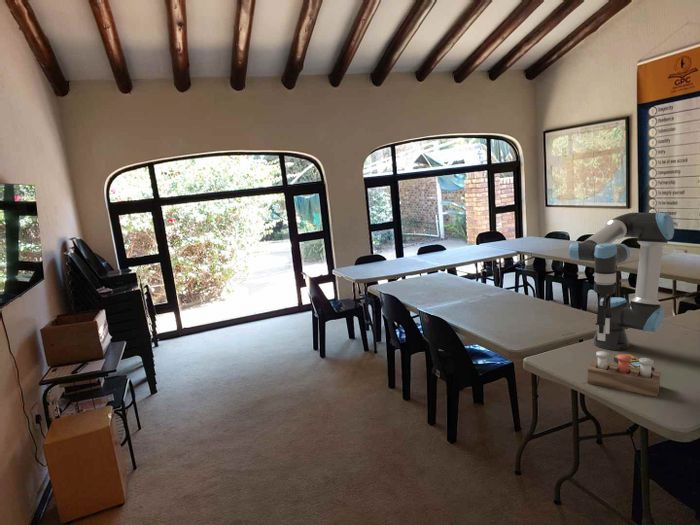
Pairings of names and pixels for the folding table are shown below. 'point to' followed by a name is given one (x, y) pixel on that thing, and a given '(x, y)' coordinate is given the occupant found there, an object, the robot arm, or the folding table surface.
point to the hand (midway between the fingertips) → (603, 336)
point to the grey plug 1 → (602, 359)
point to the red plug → (623, 363)
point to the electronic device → (632, 362)
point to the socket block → (624, 379)
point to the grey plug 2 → (645, 367)
